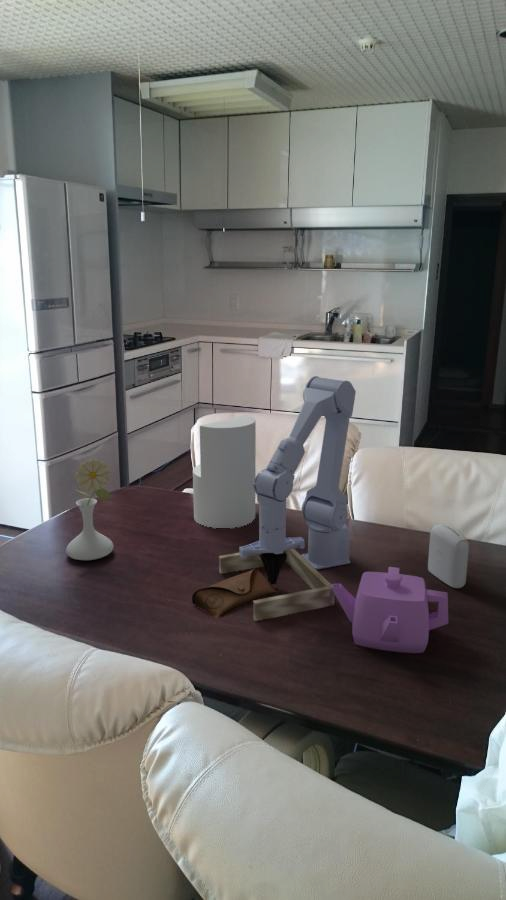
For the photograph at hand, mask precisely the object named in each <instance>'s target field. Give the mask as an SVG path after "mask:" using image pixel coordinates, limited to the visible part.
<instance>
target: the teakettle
mask: <svg viewBox="0 0 506 900" xmlns="http://www.w3.org/2000/svg"><path fill="white" fill-rule="evenodd" d="M331 585H332V590H333V592H334V594H335V597H336V599H337V601H338V602H339V604H340V606H341V608H342V610H343V612H344V613H345V615H346V617H347V619H348V620H349V621H350V622H351V623H352V624H351V625H352V626H351V628H352V629H351V630H352V631H351V632H352V633H351V634H352V638H353V642H354V644H355V645H357V646H359V647H364V648H368V649H369V648H370V649H374V650H381V651H385V652H393V653H394V652H395V653H405V654H406V653H408V654H422V653H424V652H425V650H426V649H427V646H428V643H429V635H430V634H429V633H430V630H435V629H437V628H439V627H442V626H446V625H448V624H449V604H448V603H449V597H448V596H449V595H448V594H449V593H448V592H447V591H446V592H445V591H440V590H432V589H427V588H426V581H425V578H423V577H421V576H416V575H411V574H403V573H400V567H396V566H395V567H394V566H388V570H387V572H383V571H381V572H380V571H364V572H363V573H362V575H361V578H360V581H359V585H358V587H357V593H356V597H354V596H353V595H352V594H351V593H350V592H349V591H348V590H347V588H346V587H344V585H343V584H342V583H331ZM429 602H433V603H437V604H438V605H437V611H434V612H432V613H430V612H429V610H430V609H429Z"/></svg>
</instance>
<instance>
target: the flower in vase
mask: <svg viewBox="0 0 506 900" xmlns="http://www.w3.org/2000/svg"><path fill="white" fill-rule="evenodd" d="M108 465H109V464H107V463H106V462H105V461H102V460H100V459H97V458H92V459H87V460H86V461H84V462H81V463H80V464H79V467H77V469H76V472H75V473H74V474H75V476H74V478H75V480H76V483H77V486H78V488H80V489H81V490H83V491H81V490H79V489H77V488H76V487H74V489H75V491H76V492H78V493H79V494H82V495H84V496H87V497H86V498H82V499H81V498H80V499H78V500H76V501H75V505H76V506H77V507H78V509H79V510H80V513H81V516H82V522H83V524H82V526H83V528H82V531H81V532H80V533H79V534H78V535H76V537H74V538H73V539H72V540H71V541H70V542H69V543H68V544H67V546H66V549H65V552H66V555H68V557H70V558H71V559H73V560H79V561H92V560H93V561H94V560H98V559H102V558H104V557H106V556H108V555H110V553H112V551H113V549H114V548H115V547H114V546H115V545H114V543H113V541H112V540H111V539H110V538H109V537H108V536H105V535H103V534H102V533H100V532H98V531H97V530H96V529H95V527H94V522H93V521H94V517H93V516H94V515H93V514H94V509H95V507H96V505H97V503H98V500H97V499H95V498H93V496H94V495H96V496H97V498H98V499H99V500H105V499H106V500H107V499H111V498H112V494H110V492H109V491H108V490H107V489H106V488H105V487H106V486H107V484H108V483H107V482H108V481H109V480H110V478H111V475H112V474H111V472H110V468H109V467H108ZM84 491H87V492H90V493H92V494H91V496H90V495H89V494H88V493H86V492H84ZM88 497H89V498H88Z"/></svg>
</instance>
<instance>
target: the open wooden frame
mask: <svg viewBox="0 0 506 900" xmlns="http://www.w3.org/2000/svg"><path fill="white" fill-rule="evenodd" d="M285 553H286V554H287V560H286V561H285V562H284V564H285V563H286V564H287V565H289V567H290V568H291V569H292V570H293V571H294V572H295V573H296V574H297V575H298V576H299V577H300V578H301V579H302V580H303V581H304V582H305V583H306V584H307V586H308V587H310V588H311V589H306V590H302V591H296V592H291V593H285V594H281V595H275V596H271V597H270V596H269V597H263V598H261V599H258V600H254V601H253V602H252V603H253V604H252V605H253V606H252V615H253V617H252V619H253V620H254V622H258V621H259V620H260V621H263V619H265V620H269V619H274V618H278V617H283V616H289V615H294V614H298V612H299V613H301V612H308V611H313V610H318V609H323V608H327V607H332V606H335V597H336V595H335V594H334V592H333V590H332V583H330V582H329V581H328V579H326V577H324V576H323V575H322V574H321V573H320V572H319V571H318V569H317V570H316V569H315V568H314V567H312V566H311V565H310V564H309V563H308V562H307V561H306V560H305V559H304V558H303V557H302V556H301V555H302V554H300V553H299V552H298V551H297V550H296V548H295V549H289V550H285ZM262 567H263V568H265V567H264V564H263V562H262V560H261V558H260V556H259V555H253V556H247V558H244V559H242V557H241V556H240V555H239V552H235V553H228V554H224V555H223V554H222V555H219V556H218V571H219V574H221V575H222V574H223V575H224V574H229V572H230V573H235V572H239V570H241V571H246V569H247V570H253V569H254V568H262ZM234 571H235V572H234ZM293 613H294V614H293ZM288 614H289V615H288Z"/></svg>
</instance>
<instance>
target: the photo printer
mask: <svg viewBox="0 0 506 900" xmlns="http://www.w3.org/2000/svg"><path fill="white" fill-rule="evenodd" d="M429 534H430V535H429V536H430V537H429V546H428V547H429V548H428V558H427V559H428V561H427V570H428V572H429V573H431V575H433V576H435V577H436V578H438V580H440V581H441V582H443V583H444V584H446V585H447V586H449V587H451V588H453V589H461V588H463V587H464V586H465V585H466V583H467V582H466V581H467V571H468V563H469V562H468V560H469V551H470V550H469V548H470V543H469V541H468V539H467V538H466V537H465V535H464V534H462V532H460V531H459V530H457V528H455V527H452V526H451V525H449V524H444V523H439V524H435V525H433V526H432V528H431V530H430V533H429Z"/></svg>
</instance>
